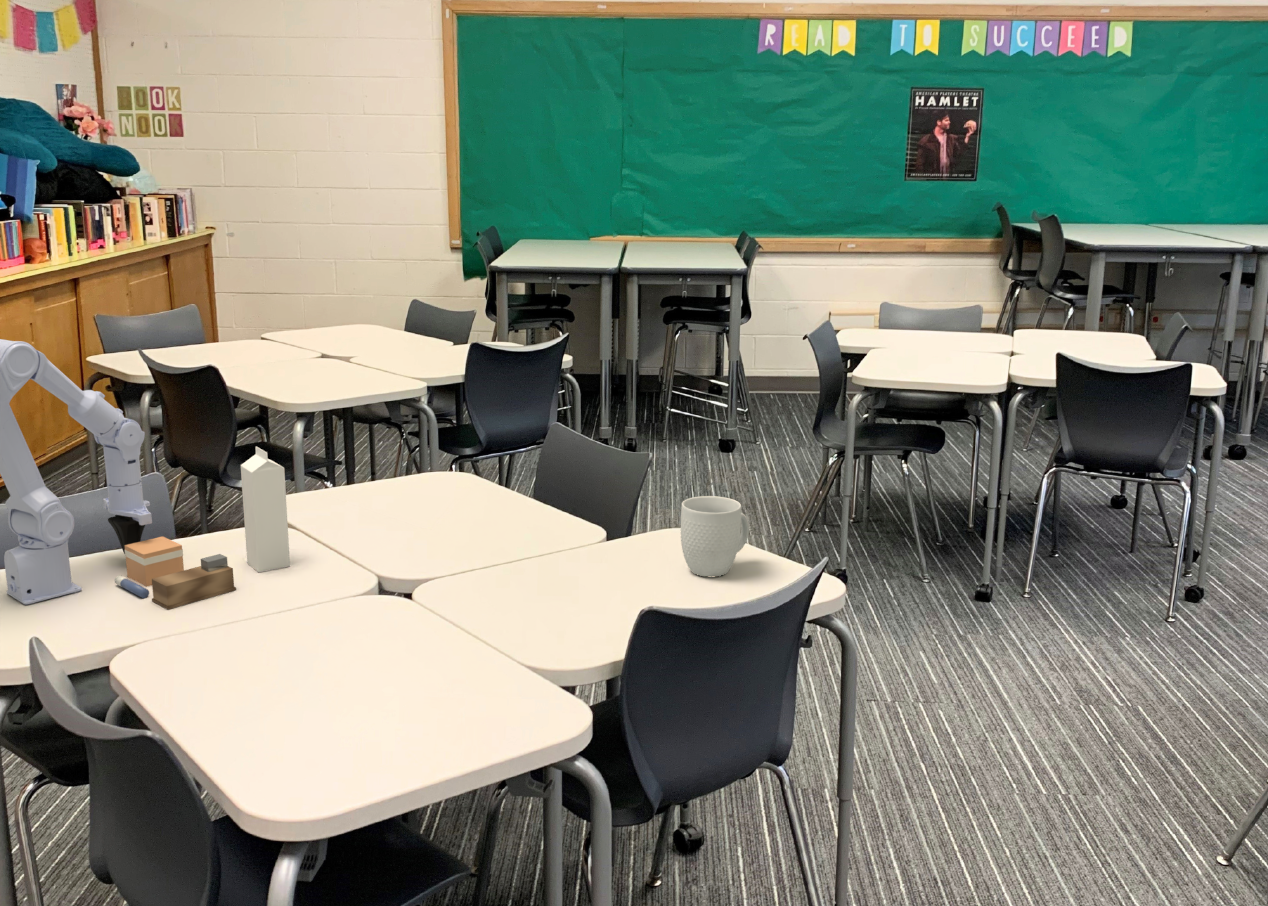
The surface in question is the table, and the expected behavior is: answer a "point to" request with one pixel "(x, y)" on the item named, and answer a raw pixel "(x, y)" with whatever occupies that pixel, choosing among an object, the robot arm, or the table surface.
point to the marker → (131, 586)
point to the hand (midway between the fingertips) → (131, 553)
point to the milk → (265, 513)
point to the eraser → (214, 562)
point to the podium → (191, 586)
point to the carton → (153, 559)
